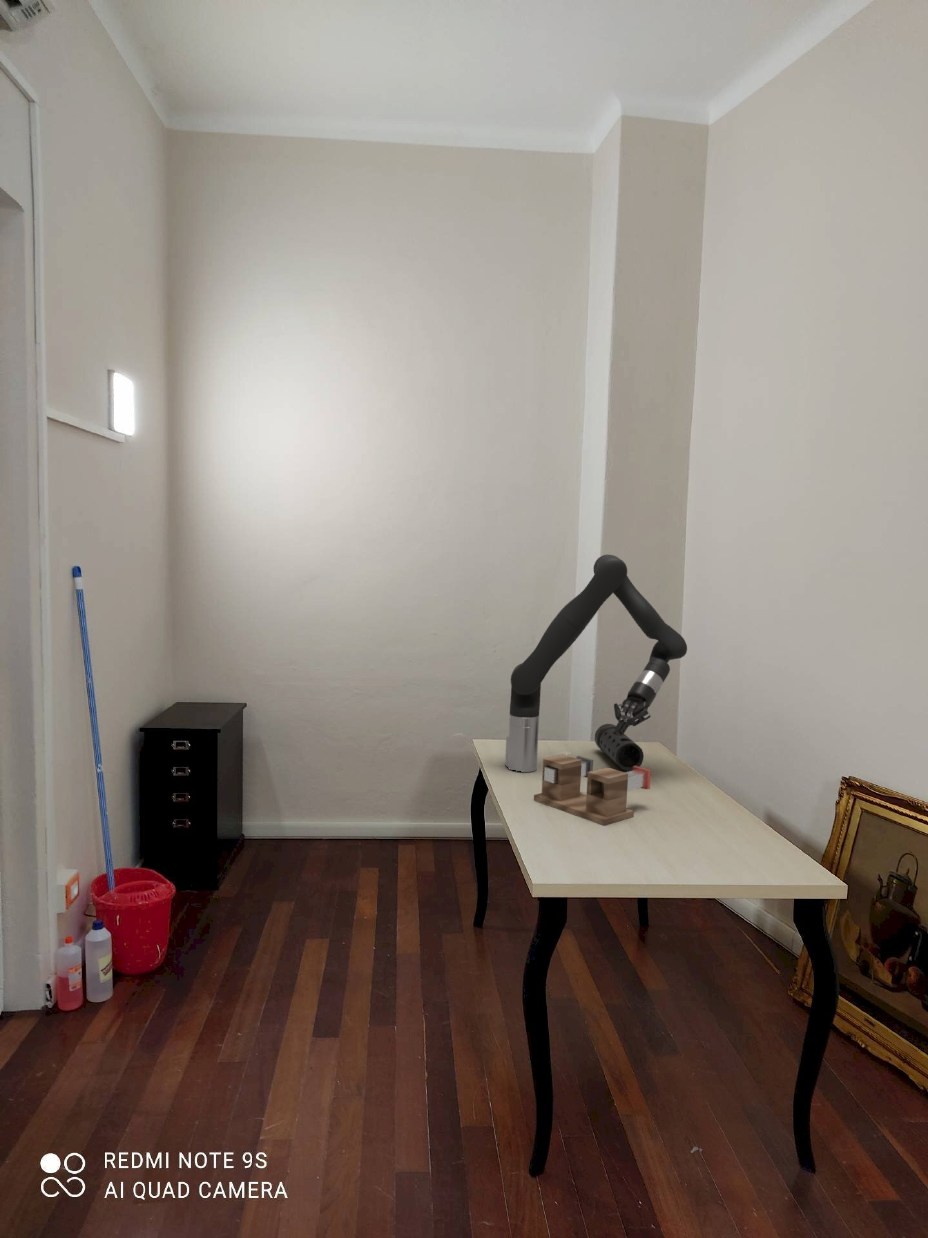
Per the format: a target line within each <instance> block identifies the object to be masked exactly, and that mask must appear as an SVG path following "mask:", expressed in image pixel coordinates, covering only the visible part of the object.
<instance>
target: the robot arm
mask: <svg viewBox="0 0 928 1238" xmlns="http://www.w3.org/2000/svg"><path fill="white" fill-rule="evenodd" d="M612 594H614V596H615V597H616V598H617V599H618V601H620V603H621V604H622V605H623V606H624V608H625V609H626V611H627V612H628V614H629V615H630V616H631V618H632V620H633V621H634V622H635V624H637V626H638V627H639V629H640V630H641V631H642V632H643V633H644V635H645V637H647V638H648V639H652V640H656V641H657V642H655V644H654V645H653V647H652V649H651V652H650V656H649V660H648V662H647V664H646V665H645V666H644V669H643V670H642V671H641V673H639V675H638V676H637V678H636V680H635V681H634V683H633V684H632V685H631V687H630V689H629V691H628V693H627V696H626V698H625V699H624V700H623V701H622V703H619V704H618V703H614V704H613V709H614V710H613V711H614V715H615V716H614V717H615V719H616V720H617V724H616V725H615V726H616V727H615V729H614V730H615V733H616V735H620V736H622V734H625V733H626V731H627V730H628V728H629V727H631V726H632V727H636V726H638V725H639V724H641V723H643V722H644V721H646V720H648V719H650V718H651V717H652V716H651V714H650V712H649V711H648V709H649V707H651V705H652V704H653V702H654V700H655V698H656V697H657V695H658V694H659V692H660V690H661V688H662V686H663V684H664V682H665V680H666V679H667V677H668V675H670V671H671V667H670V665H669V662H670V661H671V660H677V659H681V658H683V657H685V655H687V653H688V644H687V642H686V640H685V638H684V637H683V636H682V634H680V632H679V633H678V632H677V630H675V629H674V628H673V627H671V626H670V625H669V624H667V623H666V622H665V620H664V619H663V617H661V615H660V614H659V612H657V610H656V609H655V608H654V607H653V606H652V604H651V603H650V602H649V601H648V600H647V599H646V598H645V596H644V595H642V594H641V592H640V591H639V590H638V589H637V588H636V587H635V585H634V584H633V583H632V581H631V580H630V578H629V576H628V567H627V564H626V563H625V562H624V561H623V560H622V559H621V558H619V557H618V556H616V555H613V554H603V555H601V556H599V557H597V559H596V560H595V562H594V564H593V576H592V577H591V579H590V581H589V582H588V583H587V585H586V586H585V587H584V589H583V590H582V591H581V592H579V593H578V594H577V595H576V596H574V598H572V599H571V600H569V602H568V603H566V604H565V605H564V606H563V607H562V608H561V609H560V610H559V612H558V613H557V614H556V616H555V617H554V619H552V620H551V622H550V623H549V625H548V627H547V628H546V630H545V631H544V632H543V635H542V637H541V638H540V640H539V642H538V643H537V645H536V647H535V648H534V650H533V651H532V652H531V653H530V654H529V655H528V656H527V658H526V659H525V660H524V661H523V662H522V663H519V664H518V665H516V666H515V668H513V670H512V672H511V675H510V684H511V688H510V703H509V718H508V719H509V722H508V724H509V725H508V736H506V738H505V739H506V740H505V760H504V761H505V762H504V765H506V766H507V767H508V768H510V769H511V770H510V769H509V770H510V771H512V770H516V771H515V772H517V771H521V772H520V773H531V772H535V771H537V769H538V750H539V731H540V730H539V727H540V724H539V723H540V706H541V692H542V691H541V690H542V689H541V688H542V687H541V686H542V682H543V680H545V678H546V676H547V674H548V673H549V671H550V670H551V668H552V667H553V665H555V663H556V662H557V661H558V660H559V659H561V657H562V656H563V655H564V654H565V653H566V652H567V651H568V650H569V649H570V648H571V646H572V645H573V644H574V643H575V642H576V640H577V639H578V638H579V637H580V635H581V634H582V632H583V631H584V630H585V629H586V627H587V626H588V625H589V624H590V622H591V621H592V619H593V618H594V617H595V615H596V614H597V613H598V611H599V610H600V608H601V607H602V605H604V603H605V602H606V601H607V600H608V599H609V598H610V597H611V596H612ZM506 766H505V767H506ZM507 767H506V768H507ZM508 768H507V769H508Z"/></svg>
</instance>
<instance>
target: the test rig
mask: <svg viewBox="0 0 928 1238" xmlns="http://www.w3.org/2000/svg"><path fill="white" fill-rule="evenodd" d="M581 764H582V760H580V759H577V757H573V756H569V755H565V754H558V755H554V756H549V757H544V758H543V759H542V776H541V777H542V779H541V792H540V793H537V794H533V801H536V802H537V803H540V804H544V805H546V806H548V807H552V808H555V809H558V810H560V811H563V812H566V813H568V814H572V815H574V816H577V817H579V818H583V819H586V820H588V821H591V822H594V823H597V824H600V825H602V826H607V825H610V824H613V823H617V822H619V821H624V820H627V819H629V818H632V817H634V813H635V812H634V810H632V809H629V808H627V799H628V791H627V786H628V773H625V771H621V770H618V769H614V768H610V767H604V768H598V769H595V770H593V771H590V772H588V777H587V781H586V783H587V784H586V794H583V793H581V781H582V780H581V779H582V777H581ZM549 766H551V767H555V768H558V782H557V783H551V782H548V781H545V780H544V773H545V767H549ZM602 782H603V783H604V792H602Z"/></svg>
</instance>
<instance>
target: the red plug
mask: <svg viewBox="0 0 928 1238" xmlns="http://www.w3.org/2000/svg"><path fill="white" fill-rule="evenodd" d="M624 772H625V771H624ZM625 773H628V786H627V792H628V791H633V790H634V789H635V790H636V789H639V788H641V789H644V790H650V789H651V777H652V776H651V775H652V770H651V769H648V768H644V767H641V766H640V767H638V766H633V771H629V772H625ZM602 792H604V783H603V782H602Z"/></svg>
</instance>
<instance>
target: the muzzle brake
mask: <svg viewBox="0 0 928 1238" xmlns="http://www.w3.org/2000/svg"><path fill="white" fill-rule="evenodd" d="M615 727H616V725H615V724H613V723H605V724H604V723H603V724H602V725H600V726H599V727H598V728H597V729H596V731H595V733H594V742H595V745H596V746H597V748H598V749H600V750H601V751H602V752H604V754H606V755H607V756H608V758H609V759H610V760H612V761H613V762H614V763H615V764H616V765H617V767H619V768H620V769H621V770H623V772H629V771H633V766H638V767H641V765H642V764H643V762H644V756H645V755H644V751H643V749H642V747H641V746H639V745H638V744H637V743H636V742H634V741H633V740H632V739H631V738H630V737H628V736H627V735H626V734H625V733H624V734H622V736H620V735H616V733H615V730H614V729H615Z"/></svg>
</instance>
